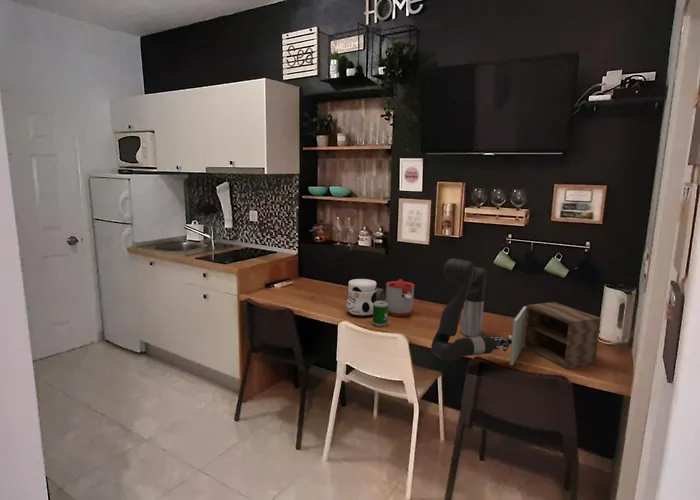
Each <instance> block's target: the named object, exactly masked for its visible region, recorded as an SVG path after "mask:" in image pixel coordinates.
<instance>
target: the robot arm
mask: <svg viewBox="0 0 700 500" xmlns="http://www.w3.org/2000/svg"><path fill="white" fill-rule="evenodd" d="M487 273H488V272H487V269H486V268H484V267H477V266H475V265H474V262H472V261H468V260H464V259H459V258H454V257H453V258H449V259H448V260H447V261H446V262H445V264H444V265H443V276H444V279H445V280H447V281H448V282H453V283H457V284H461V286H460V289H459V291H458V292H457V294H456V295H455V296H454V297H453V298H452V300H450V301H449V302H448V303H447V305H446V306H445V307H444V308H443V310H442V312H441V316H440V321H439V326H438V330H437V331H436V333H435V335H434V338H433V339H432V342H431V346H430V347H431V353H432V354H433V356H434V357H436V358H437V359H441V360H442V361H446V362H452V361H455V360H458V359H460V358H462V357H468V356H479V355H487V354H491V353H493V351H494V350H499V349H500V350H501V349H502V351H504V352H507V351H508V349H509V346H510V345H511V344H512V340H509V337H501V336H500V335H492V334H491V335H490V334H482V332H483V330H482V329H483V317H484V304H485V290H486V284H487V275H488V274H487ZM470 287H477V288H476V289H474V290H471V291H470ZM460 318H461V320H460ZM459 322H460V332H461V333H462V334H463V335H464V336H467V337H462V338H458V339H455V340H454V341H453V342H449V341H450V338H451V337H455V336H456V335H457V332H458V327H459Z"/></svg>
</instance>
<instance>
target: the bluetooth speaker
mask: <svg viewBox="0 0 700 500" xmlns="http://www.w3.org/2000/svg"><path fill="white" fill-rule="evenodd" d="M347 294H348V290H347ZM376 299H377V301H378V300H382V301H386V290H385V288H384V289H383V288H379V287H377V293H376Z"/></svg>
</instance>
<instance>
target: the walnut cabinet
mask: <svg viewBox="0 0 700 500" xmlns="http://www.w3.org/2000/svg"><path fill="white" fill-rule="evenodd" d="M526 307H527V311H526V322H525V332H524V343H523V348H522V349H525V350H528V351H529V352H532V353H534V354H535V355H538V356H539V357H542V358H543V359H545V360H547V361H549V362H551V363H553V364H555V365H558V367H561V368H563V369H565V370H569V369H574V368H575V369H576V368H581V367H586V366H590V365H596V359H597V351H598V343H599V335H600V326H601V319H602V318H601V317H600V316H596V315H593V314H590V313H587V312H584V311H582V310H578V309H575V308H572V307H570V306H567V305H564V304H561V303H559V302H555V301H551V302H543V303H541V302H540V303H533V304H527V305H526Z"/></svg>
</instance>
